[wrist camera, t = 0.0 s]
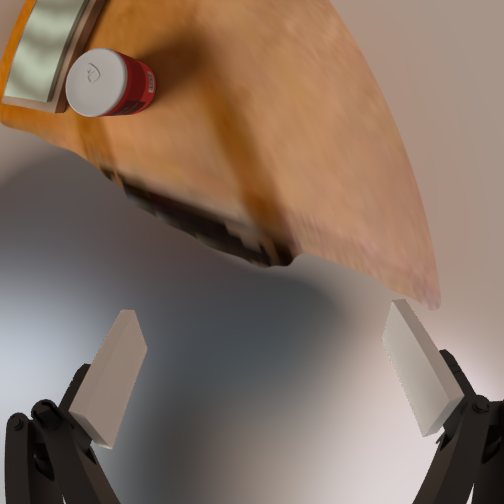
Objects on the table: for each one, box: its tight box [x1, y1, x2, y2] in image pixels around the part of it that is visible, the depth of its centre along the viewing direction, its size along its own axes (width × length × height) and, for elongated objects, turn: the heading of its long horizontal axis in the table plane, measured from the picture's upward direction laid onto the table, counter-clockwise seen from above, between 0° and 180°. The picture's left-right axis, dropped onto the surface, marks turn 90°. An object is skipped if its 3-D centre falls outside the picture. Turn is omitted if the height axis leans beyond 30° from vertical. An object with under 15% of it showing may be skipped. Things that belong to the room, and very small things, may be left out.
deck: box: [1, 0, 106, 113], centre depth 26 cm, size 22×14×4 cm, turn 159°
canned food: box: [66, 48, 156, 117], centre depth 28 cm, size 8×8×11 cm
